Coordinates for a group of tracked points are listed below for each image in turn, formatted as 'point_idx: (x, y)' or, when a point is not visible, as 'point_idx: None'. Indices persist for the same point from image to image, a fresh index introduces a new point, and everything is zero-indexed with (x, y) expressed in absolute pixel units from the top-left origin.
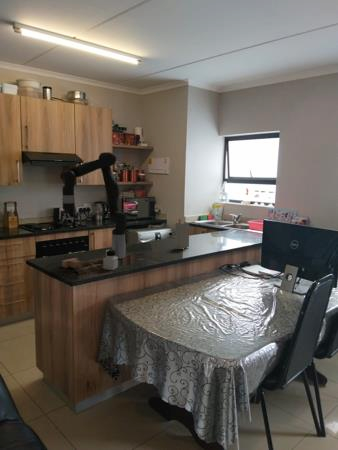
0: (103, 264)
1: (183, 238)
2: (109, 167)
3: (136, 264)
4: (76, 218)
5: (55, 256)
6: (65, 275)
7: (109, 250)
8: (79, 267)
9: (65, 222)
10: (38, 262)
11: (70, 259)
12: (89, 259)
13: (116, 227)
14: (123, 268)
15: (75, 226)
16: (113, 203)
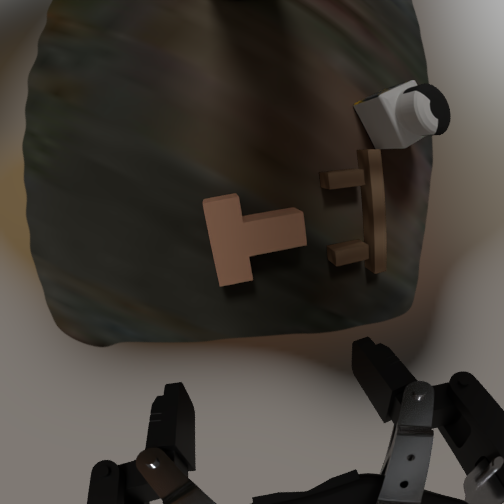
0: (388, 148)
1: None
2: None
3: (385, 17)
4: (468, 413)
5: (30, 219)
6: (346, 313)
7: (440, 119)
8: (360, 260)
9: (186, 440)
10: (97, 323)
11: (225, 240)
12: (173, 93)
13: None
14: None
15: (387, 352)
16: None
